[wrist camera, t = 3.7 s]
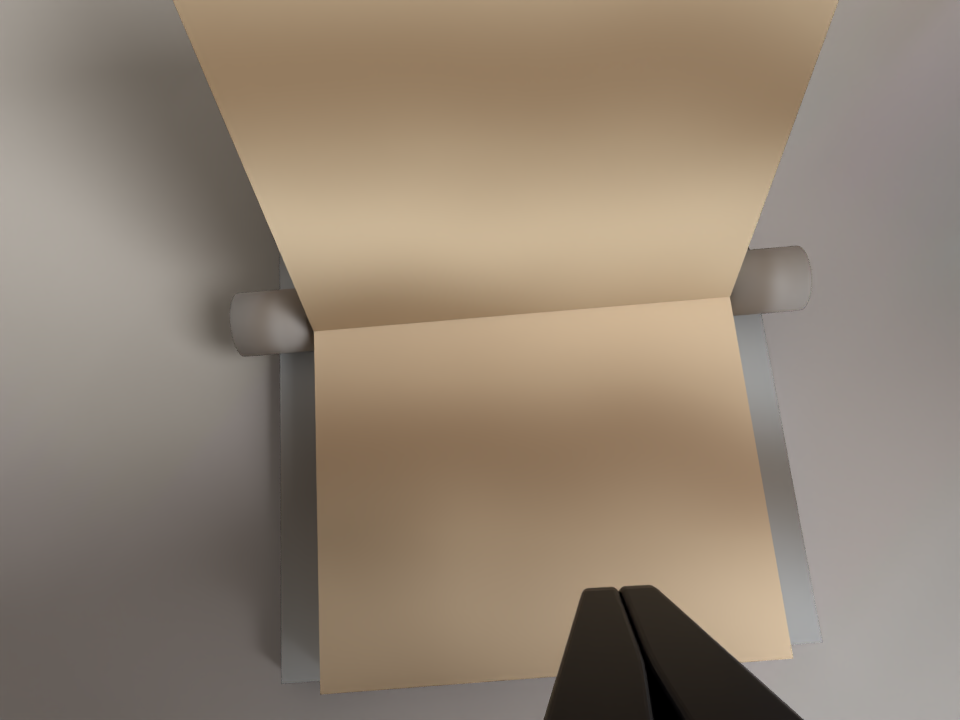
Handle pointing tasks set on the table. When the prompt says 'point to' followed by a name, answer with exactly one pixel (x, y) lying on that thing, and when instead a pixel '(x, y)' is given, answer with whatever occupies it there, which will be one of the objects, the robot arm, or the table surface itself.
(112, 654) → the table surface
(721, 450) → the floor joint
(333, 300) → the click plank
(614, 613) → the robot arm
